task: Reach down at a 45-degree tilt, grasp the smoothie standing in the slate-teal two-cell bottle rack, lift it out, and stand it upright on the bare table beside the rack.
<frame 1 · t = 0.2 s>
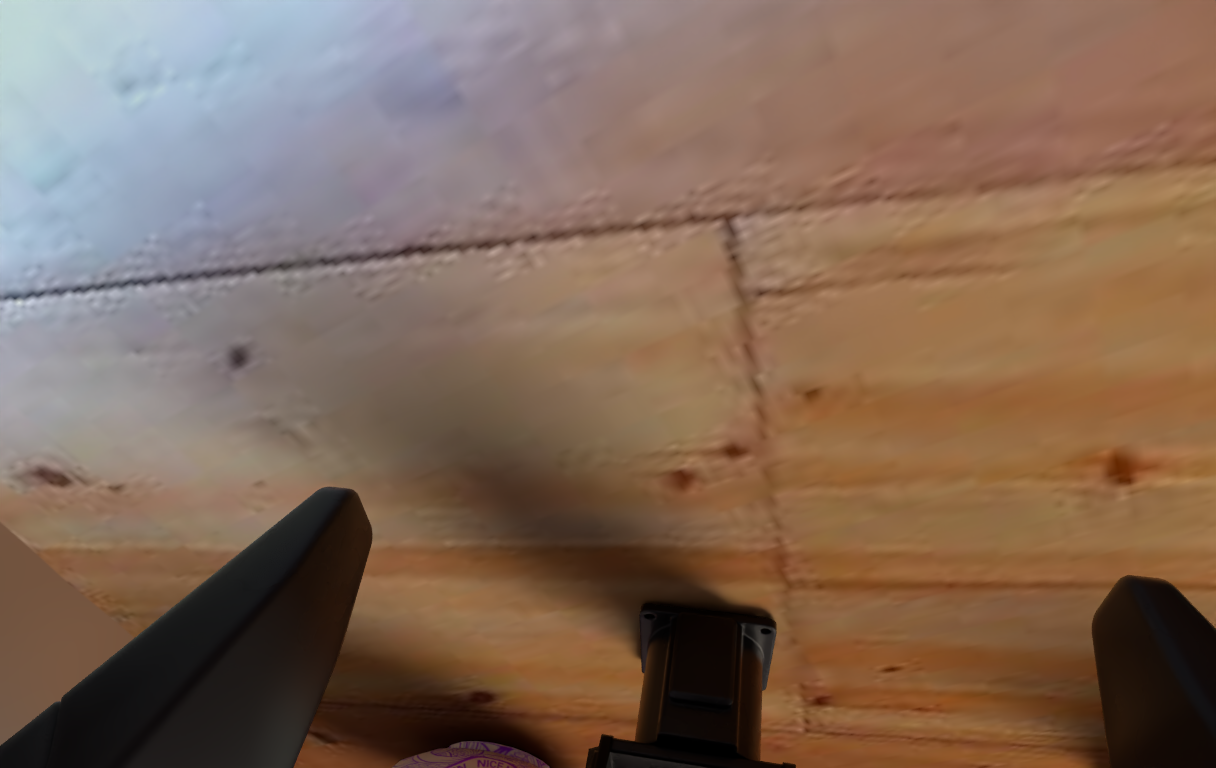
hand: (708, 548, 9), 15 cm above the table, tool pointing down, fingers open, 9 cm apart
bowl of food: (501, 763, 55), on the table
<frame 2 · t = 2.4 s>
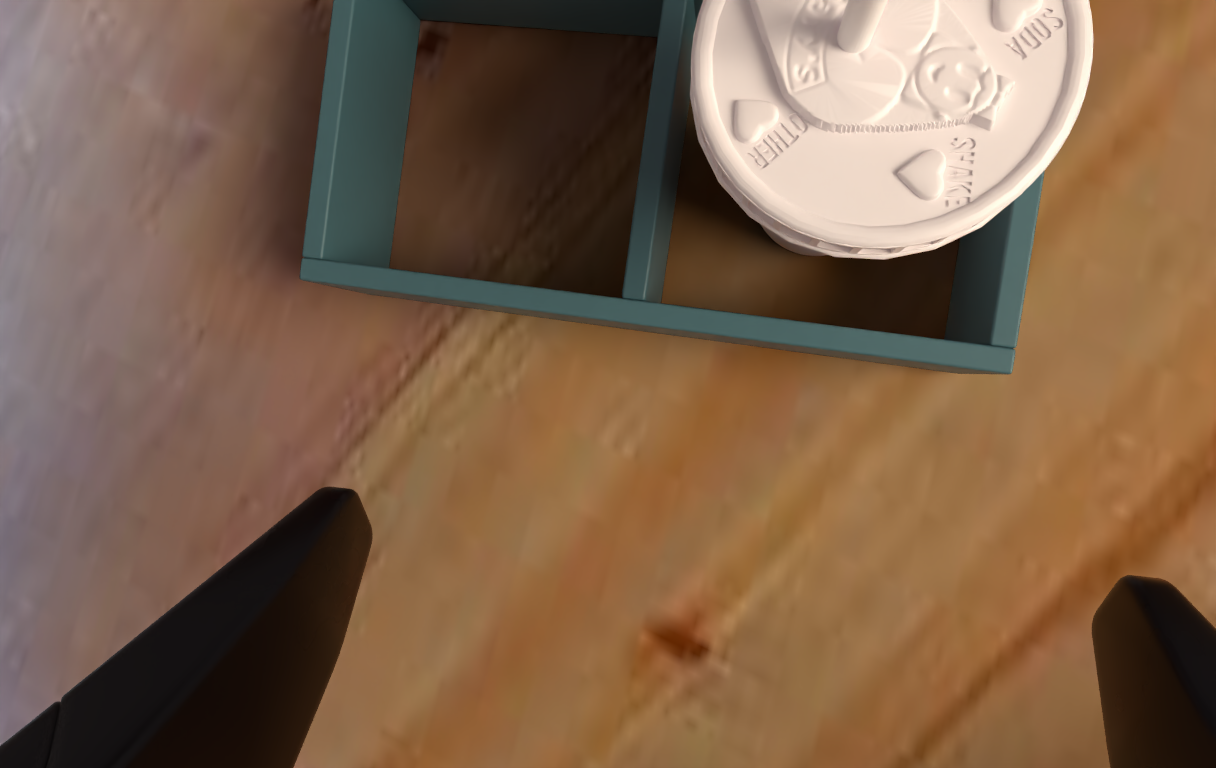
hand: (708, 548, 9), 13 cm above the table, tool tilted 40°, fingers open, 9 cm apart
smoothie: (817, 193, 22), resting in bottle rack
bottle rack: (668, 176, 23), on the table
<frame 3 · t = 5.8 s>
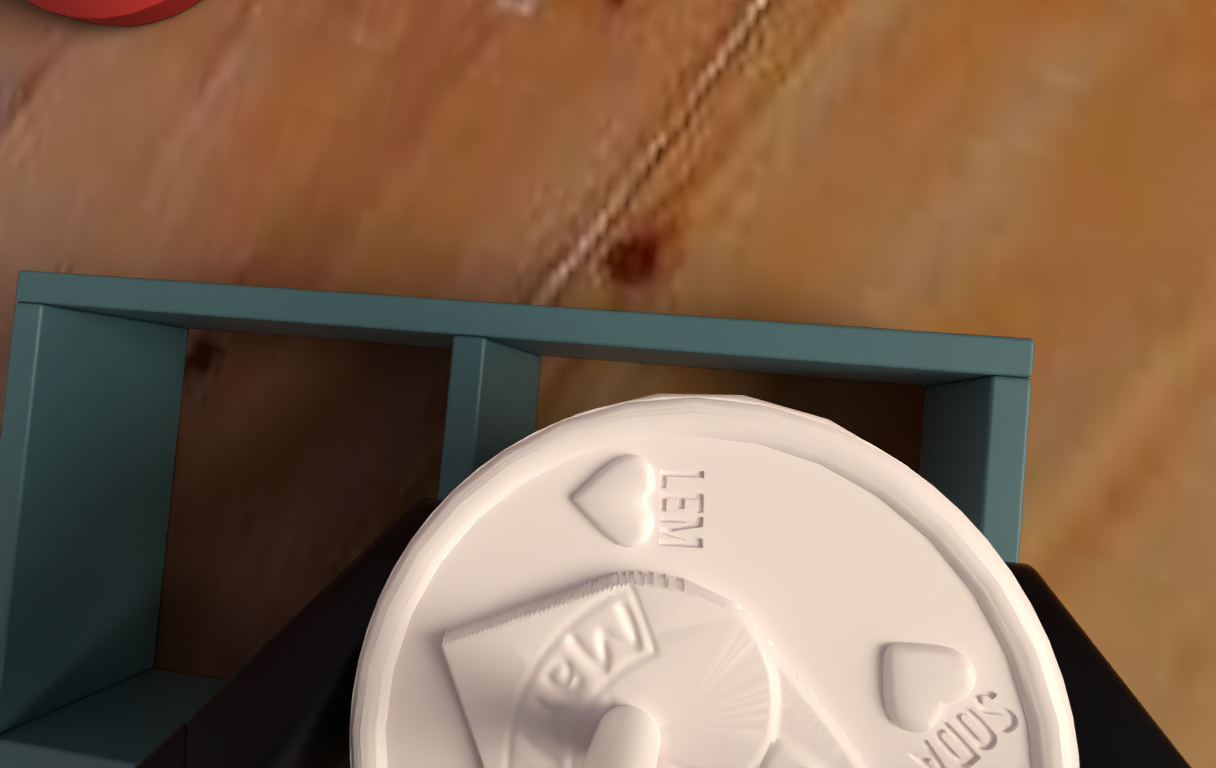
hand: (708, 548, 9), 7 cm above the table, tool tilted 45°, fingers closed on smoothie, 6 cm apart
smoothie: (710, 557, 16), resting in bottle rack, touching gripper
bottle rack: (512, 536, 17), on the table
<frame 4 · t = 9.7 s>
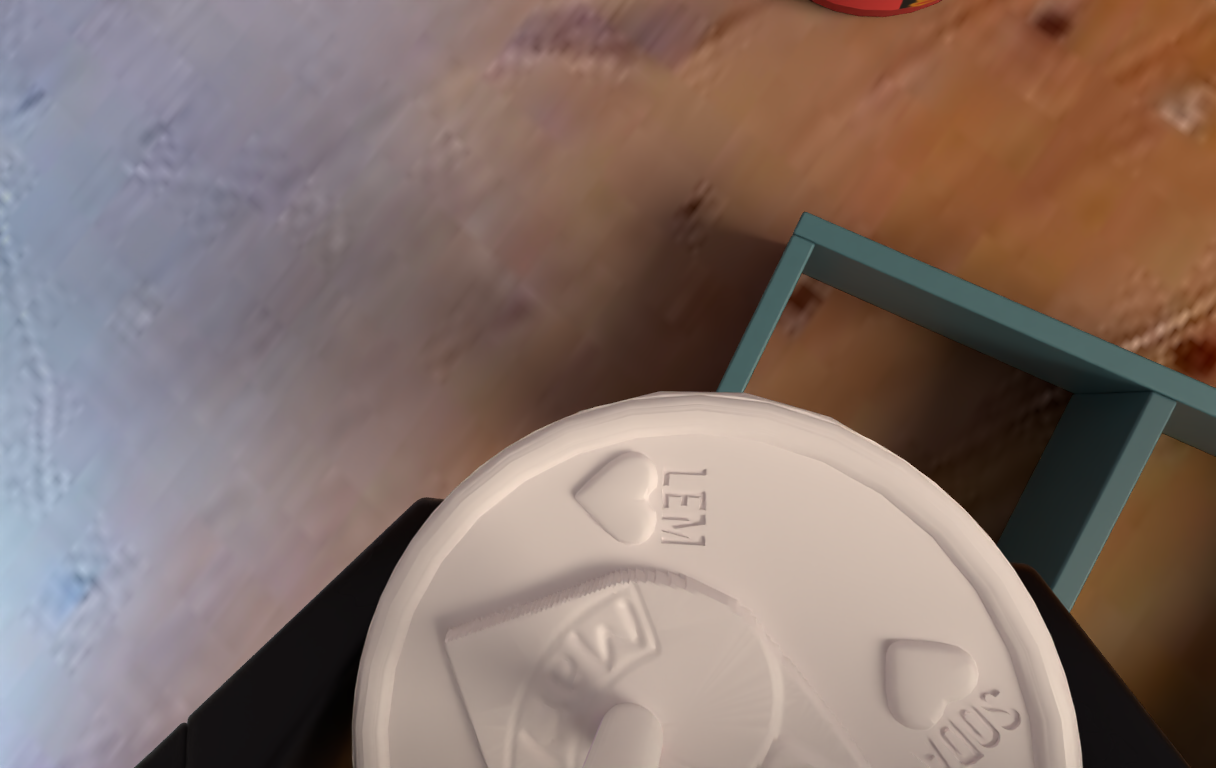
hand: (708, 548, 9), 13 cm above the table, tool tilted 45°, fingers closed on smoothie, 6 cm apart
smoothie: (711, 556, 16), point 6 cm above the table, touching gripper
bottle rack: (1016, 529, 21), on the table
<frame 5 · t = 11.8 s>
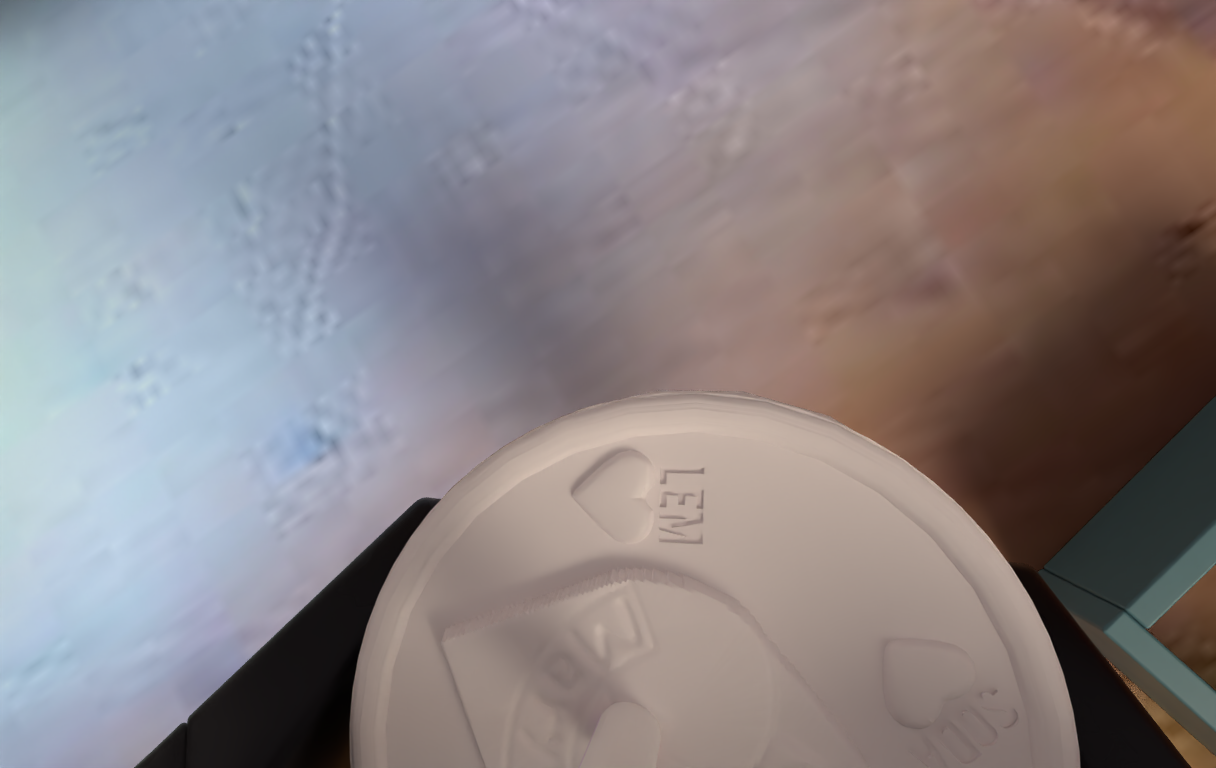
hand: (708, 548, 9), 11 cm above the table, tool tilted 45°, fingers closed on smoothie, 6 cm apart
smoothie: (710, 555, 16), point 4 cm above the table, touching gripper
when the fingers open (7 cm above the table, at t = 13.5 s): smoothie stays where it is, on the table.
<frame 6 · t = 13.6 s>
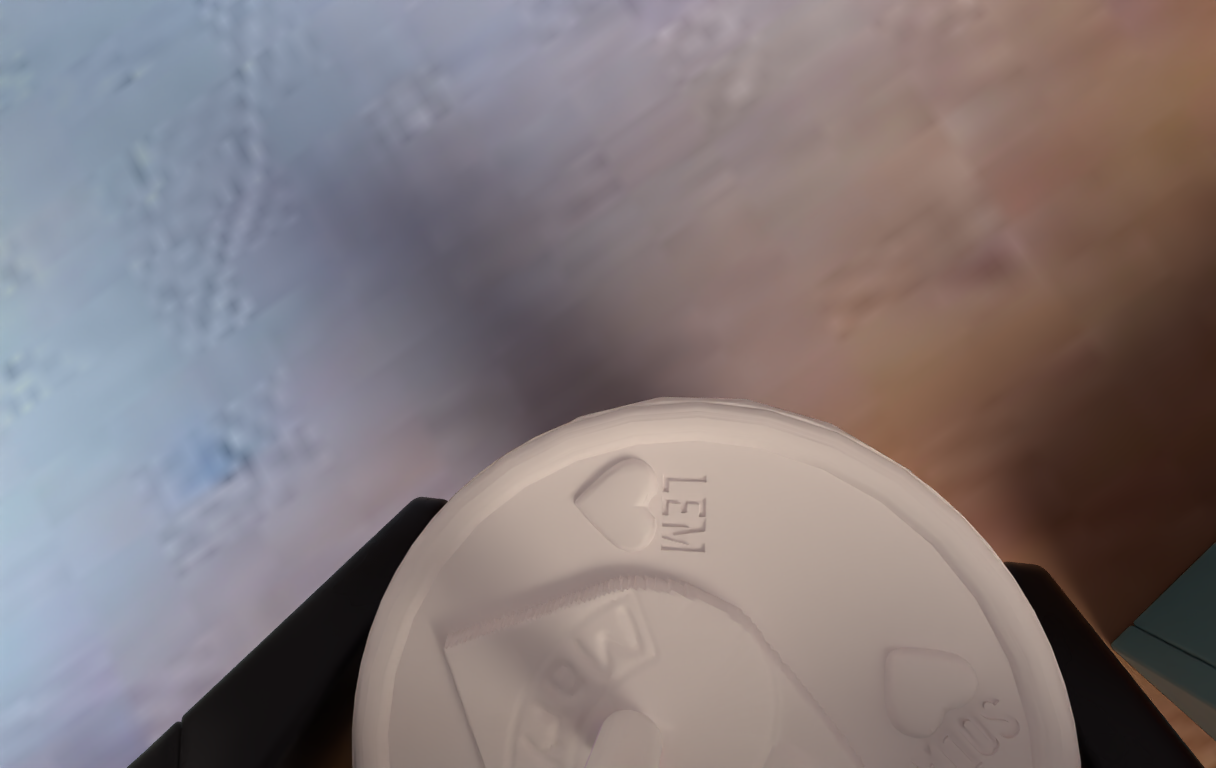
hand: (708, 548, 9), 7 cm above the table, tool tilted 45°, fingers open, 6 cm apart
smoothie: (712, 557, 16), on the table
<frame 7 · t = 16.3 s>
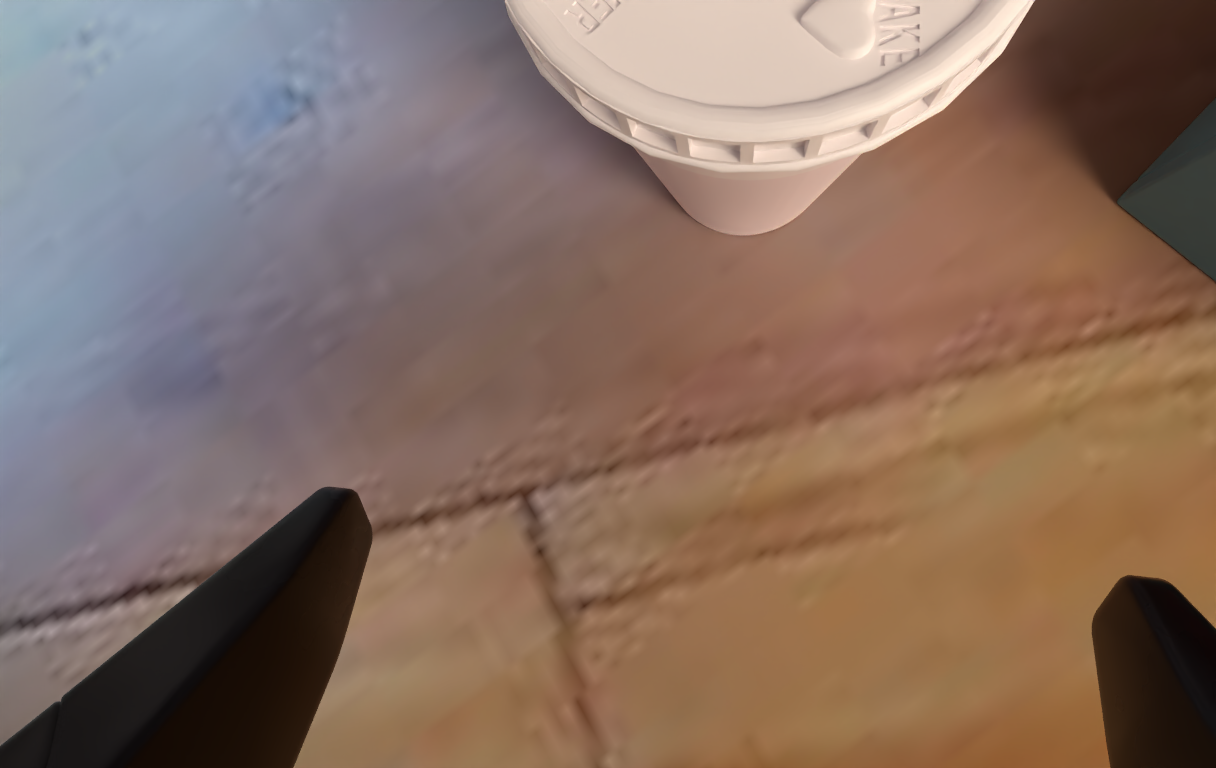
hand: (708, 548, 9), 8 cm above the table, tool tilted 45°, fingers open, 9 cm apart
smoothie: (745, 157, 18), on the table
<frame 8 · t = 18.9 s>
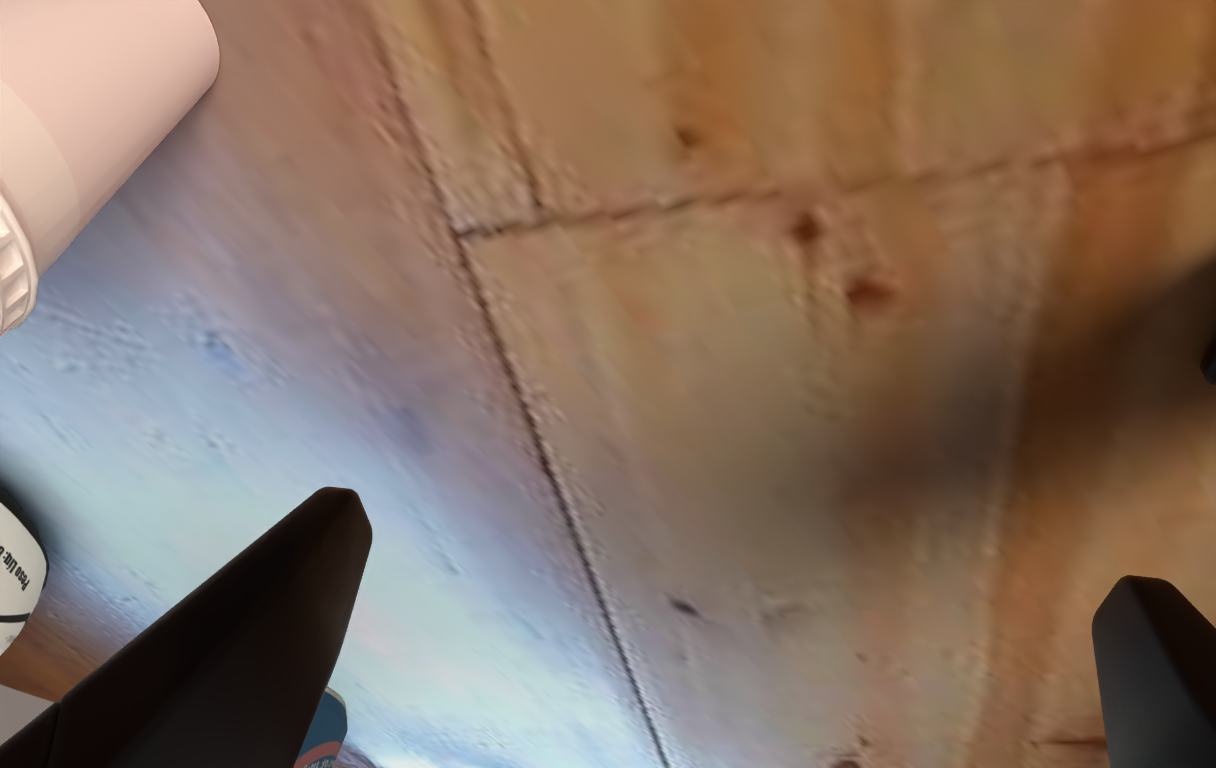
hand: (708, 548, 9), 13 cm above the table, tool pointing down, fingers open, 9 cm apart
smoothie: (154, 26, 20), on the table
soda can: (304, 691, 49), on the table
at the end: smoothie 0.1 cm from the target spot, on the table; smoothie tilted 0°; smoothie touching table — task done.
